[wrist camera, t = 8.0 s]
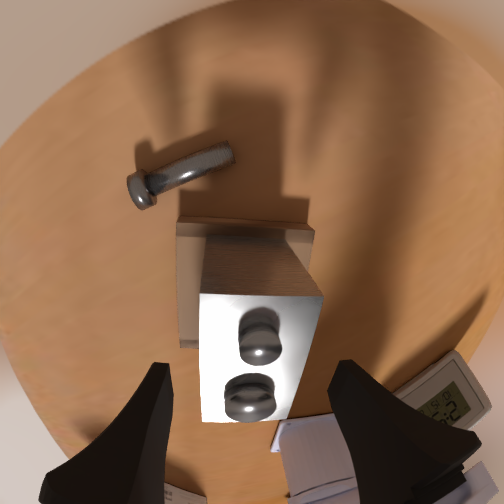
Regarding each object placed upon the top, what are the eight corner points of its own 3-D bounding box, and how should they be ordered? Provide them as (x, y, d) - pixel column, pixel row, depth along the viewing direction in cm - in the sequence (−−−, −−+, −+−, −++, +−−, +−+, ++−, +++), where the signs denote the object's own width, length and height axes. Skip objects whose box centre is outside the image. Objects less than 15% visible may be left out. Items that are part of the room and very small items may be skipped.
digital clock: (457, 340, 25) (504, 392, 15) (448, 378, 29) (483, 424, 19) (348, 405, 26) (381, 478, 16) (355, 432, 29) (380, 490, 20)
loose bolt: (224, 134, 14) (225, 133, 13) (236, 168, 15) (240, 173, 13) (134, 172, 15) (122, 178, 13) (148, 205, 16) (139, 215, 14)
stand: (307, 224, 17) (315, 230, 16) (286, 336, 20) (290, 348, 19) (179, 215, 16) (176, 222, 15) (182, 334, 19) (180, 347, 18)
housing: (285, 239, 16) (330, 306, 9) (267, 345, 19) (289, 428, 12) (206, 234, 15) (198, 304, 8) (204, 344, 18) (202, 431, 11)
